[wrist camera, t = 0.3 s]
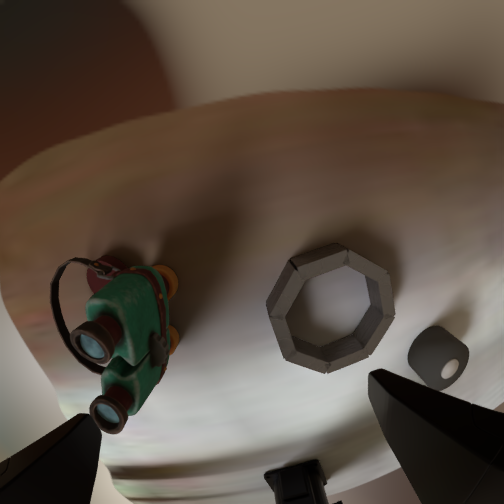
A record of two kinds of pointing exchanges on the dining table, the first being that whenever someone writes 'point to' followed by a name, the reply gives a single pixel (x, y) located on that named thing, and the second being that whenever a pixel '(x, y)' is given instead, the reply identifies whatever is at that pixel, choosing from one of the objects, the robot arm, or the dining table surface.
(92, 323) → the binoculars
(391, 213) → the dining table surface
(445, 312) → the dining table surface
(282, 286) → the barrel ring
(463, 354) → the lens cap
